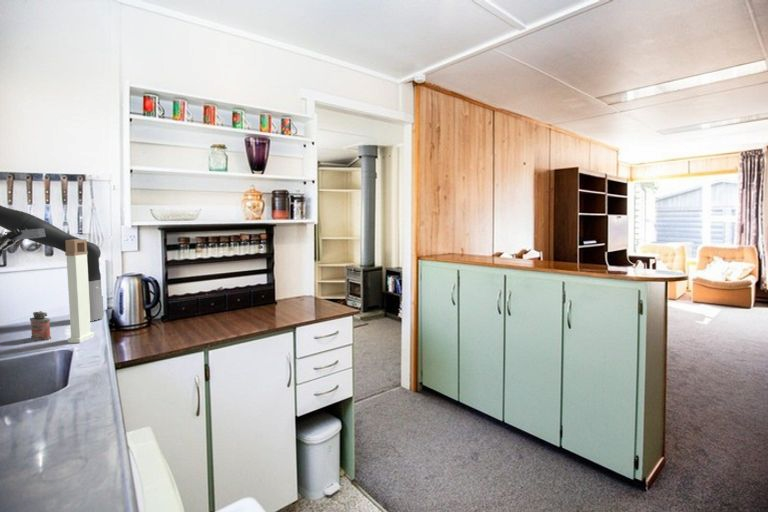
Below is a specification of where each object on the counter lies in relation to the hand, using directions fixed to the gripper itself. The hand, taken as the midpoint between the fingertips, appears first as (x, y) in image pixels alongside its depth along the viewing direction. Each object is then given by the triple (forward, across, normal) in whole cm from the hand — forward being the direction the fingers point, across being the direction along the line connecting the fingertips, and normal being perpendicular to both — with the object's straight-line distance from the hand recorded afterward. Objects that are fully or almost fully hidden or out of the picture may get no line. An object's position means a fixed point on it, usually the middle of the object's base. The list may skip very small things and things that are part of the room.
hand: (23, 231), depth 143 cm
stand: (-4, 0, +43) cm, 43 cm away
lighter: (-17, +1, +36) cm, 39 cm away
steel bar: (0, 0, +3) cm, 3 cm away
